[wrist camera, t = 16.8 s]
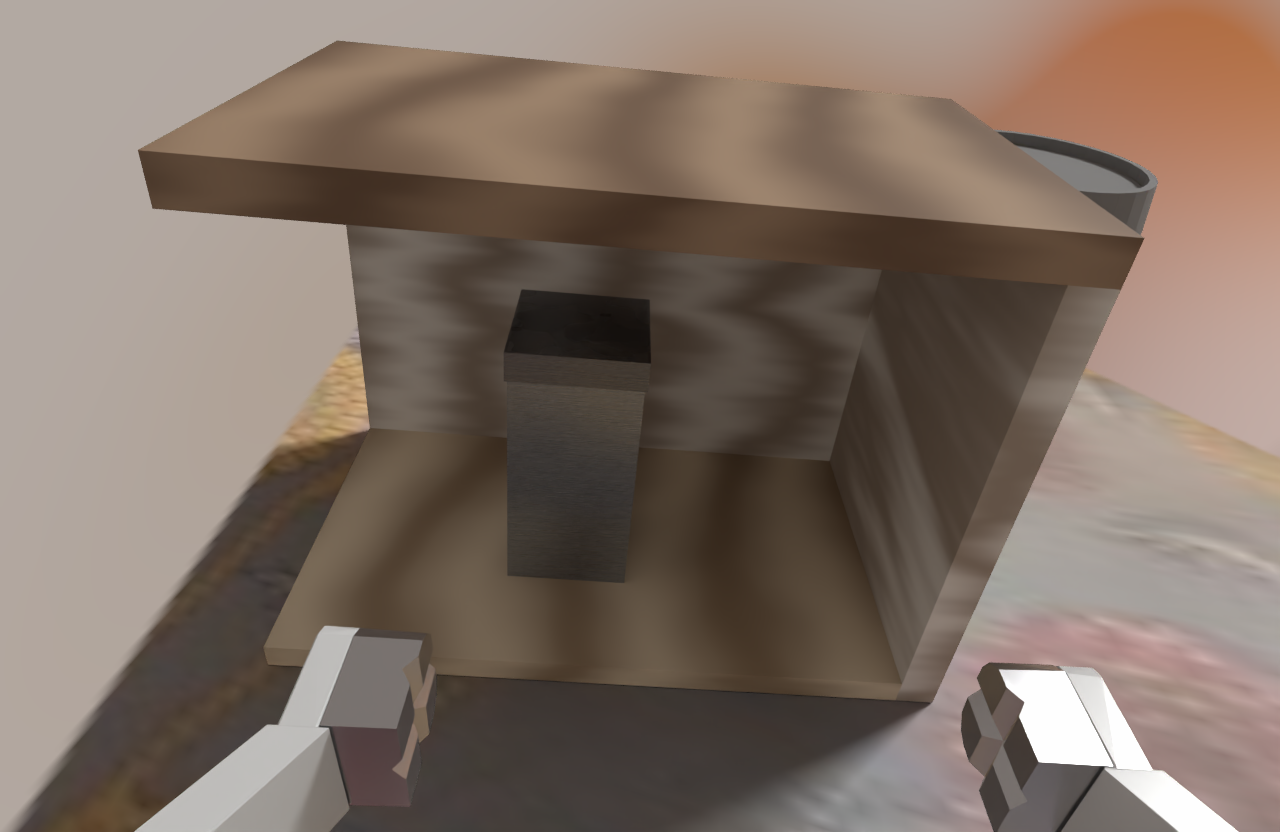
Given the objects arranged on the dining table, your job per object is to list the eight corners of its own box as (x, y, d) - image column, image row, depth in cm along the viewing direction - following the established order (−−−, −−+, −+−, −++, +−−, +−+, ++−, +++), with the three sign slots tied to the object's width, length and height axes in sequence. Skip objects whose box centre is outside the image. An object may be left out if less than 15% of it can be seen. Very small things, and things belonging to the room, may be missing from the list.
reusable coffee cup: (829, 353, 56) (884, 132, 48) (958, 326, 62) (1028, 124, 53) (964, 454, 47) (1061, 204, 39) (1101, 413, 53) (1212, 185, 44)
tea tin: (627, 506, 39) (649, 299, 33) (626, 584, 35) (651, 363, 29) (519, 499, 39) (521, 289, 33) (504, 577, 34) (503, 352, 28)
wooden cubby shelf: (846, 460, 46) (951, 99, 35) (932, 702, 32) (1144, 238, 21) (379, 427, 44) (337, 40, 33) (267, 664, 31) (138, 150, 20)
